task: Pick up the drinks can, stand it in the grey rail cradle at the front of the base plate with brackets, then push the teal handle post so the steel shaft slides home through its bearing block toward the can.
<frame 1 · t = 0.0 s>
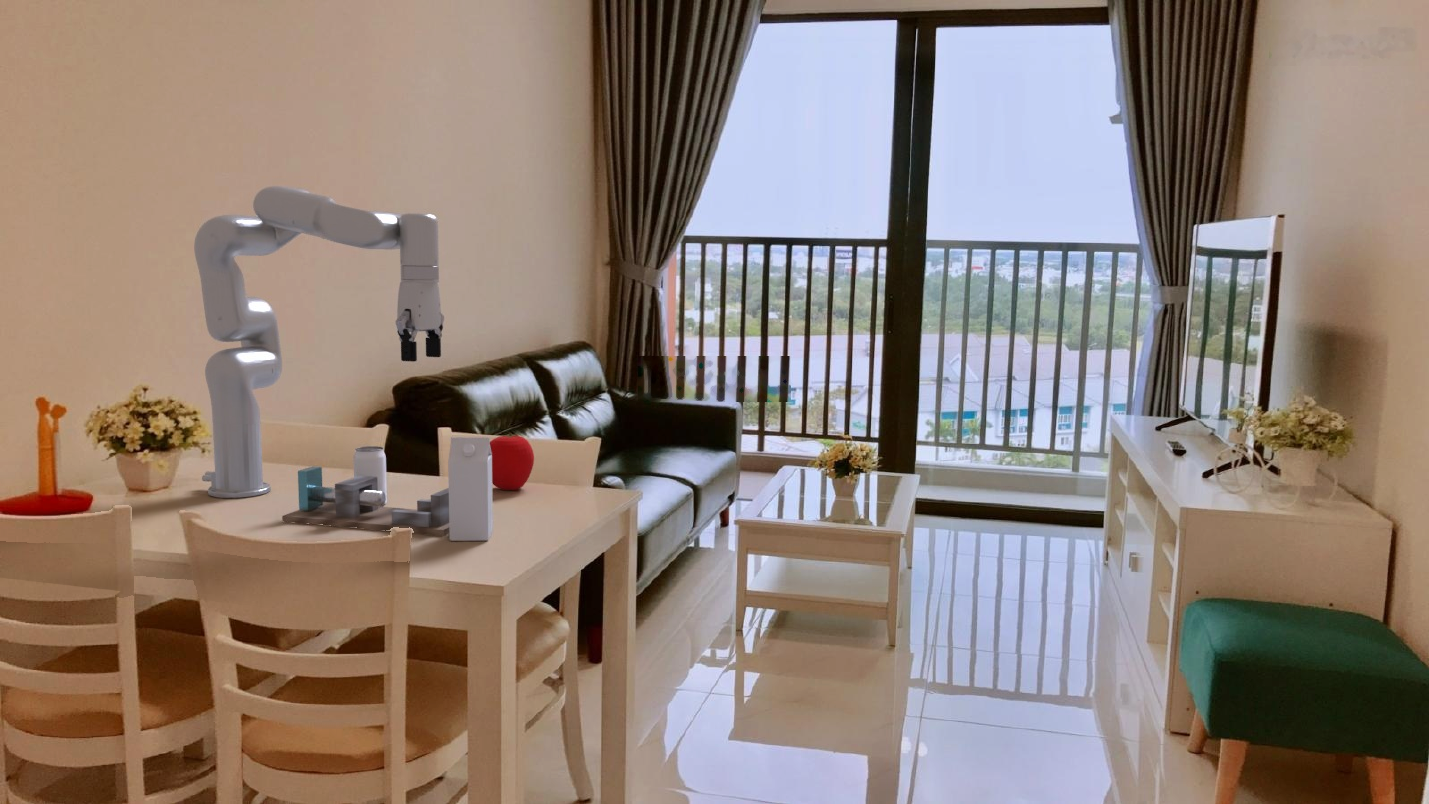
hand: (421, 358, 224), 31 cm above the table, tool pointing down, fingers open, 9 cm apart
tomato: (509, 490, 247), on the table
shaft: (343, 490, 218), point 6 cm above the table, slide at 0.0 cm
base plate with brackets: (379, 521, 216), on the table
milk carton: (471, 537, 206), on the table
can: (371, 505, 230), on the table
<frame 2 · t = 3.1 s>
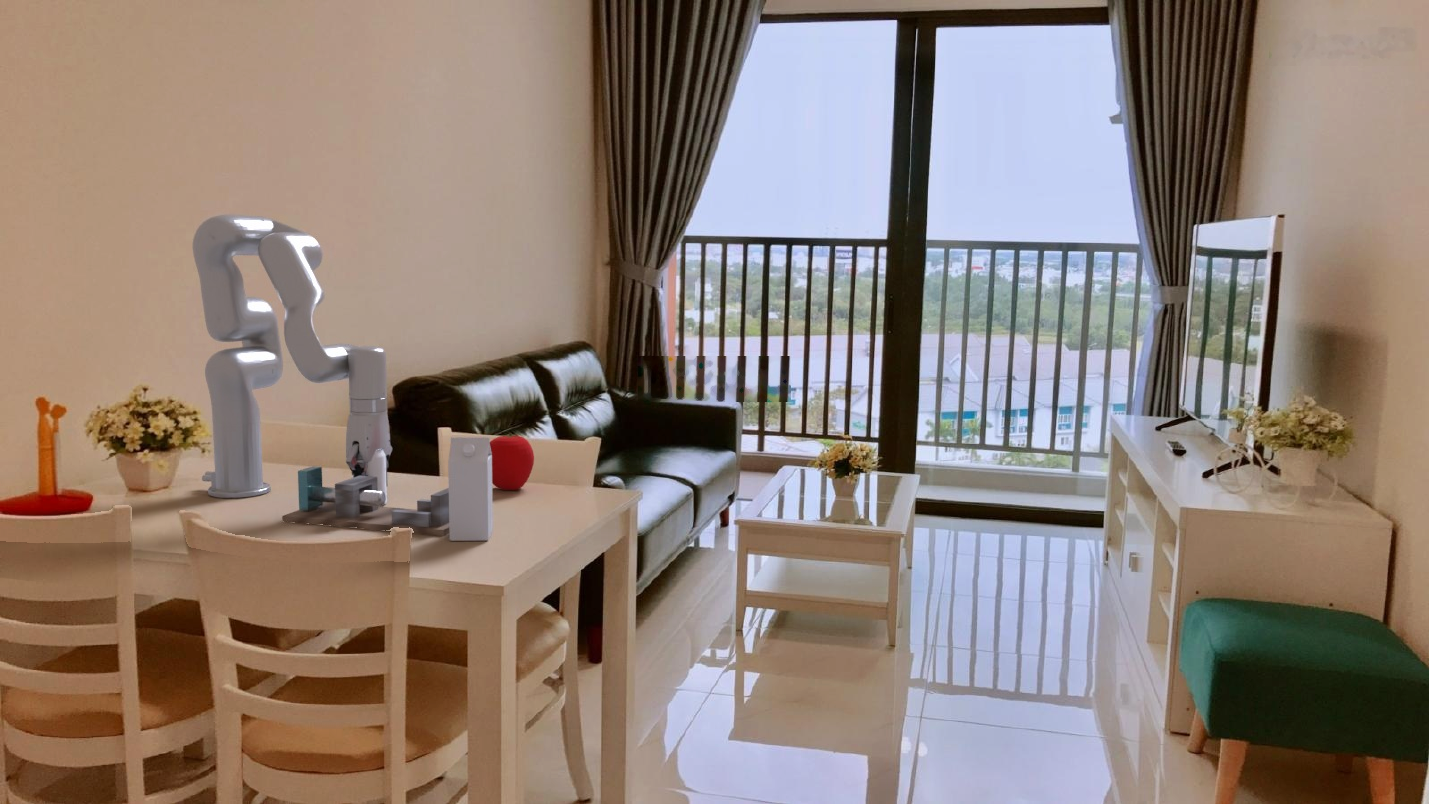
hand: (370, 489, 230), 3 cm above the table, tool pointing down, fingers closed on can, 6 cm apart
can: (371, 505, 230), on the table, touching gripper
everything else where it was.
when the fingers open (6 cm above the table, at t = 8.7 s): can drops 1 cm, resting on base plate with brackets.
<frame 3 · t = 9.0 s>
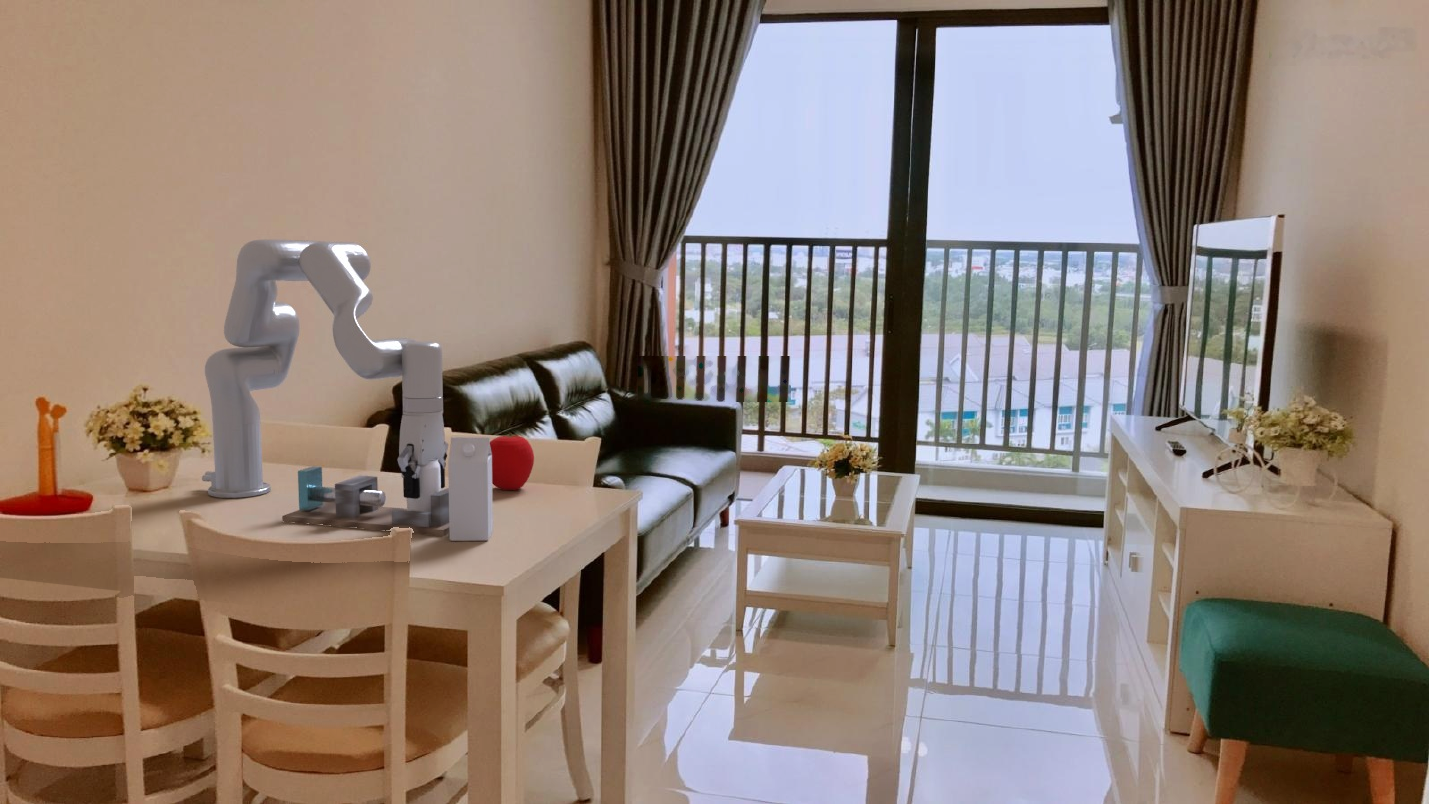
hand: (424, 492, 213), 6 cm above the table, tool pointing down, fingers open, 9 cm apart
can: (424, 519, 214), point 1 cm above the table, touching base plate with brackets
everything else where it was.
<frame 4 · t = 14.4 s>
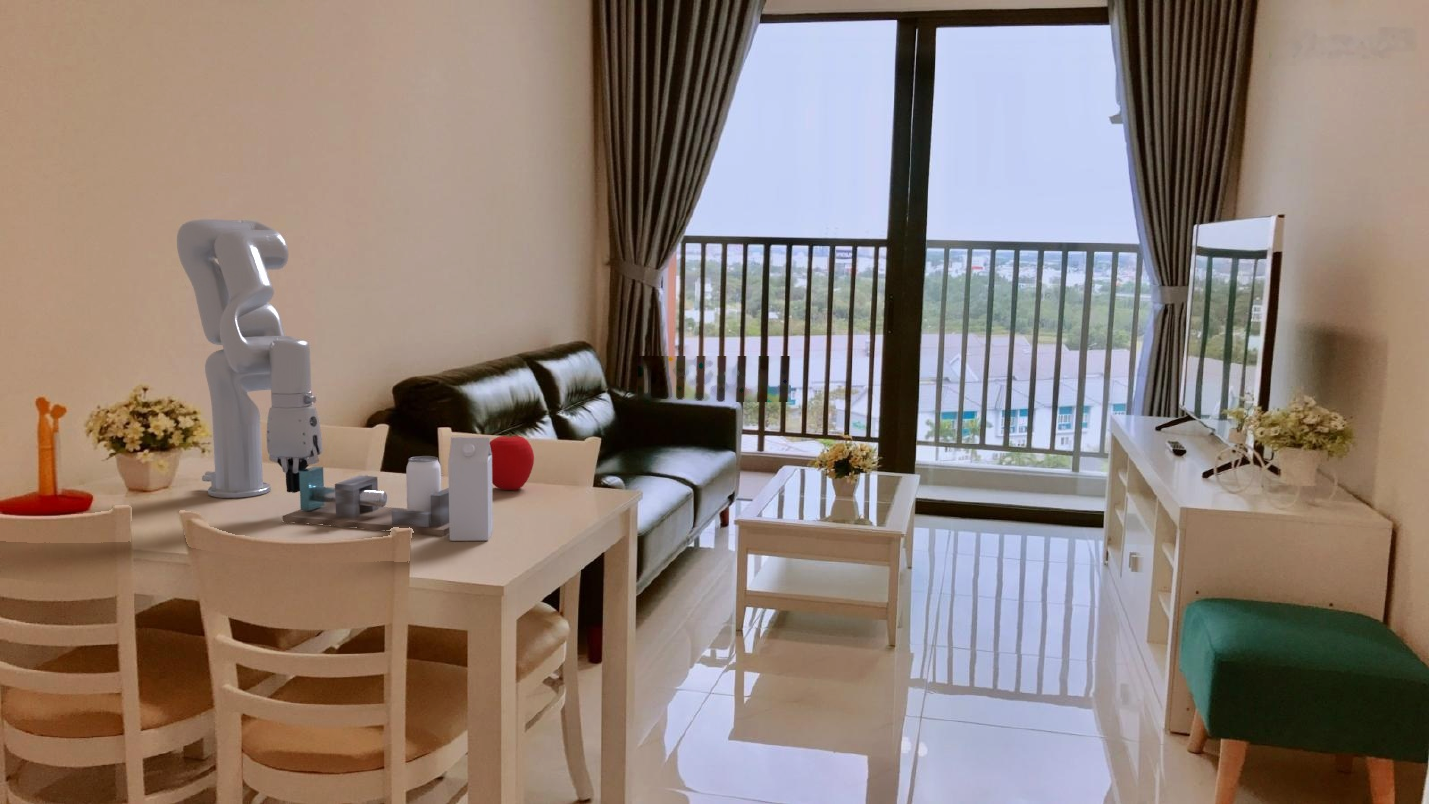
hand: (295, 491, 220), 5 cm above the table, tool pointing down, fingers closed
shaft: (344, 490, 218), point 6 cm above the table, slide at 0.3 cm, touching gripper
everything else where it was.
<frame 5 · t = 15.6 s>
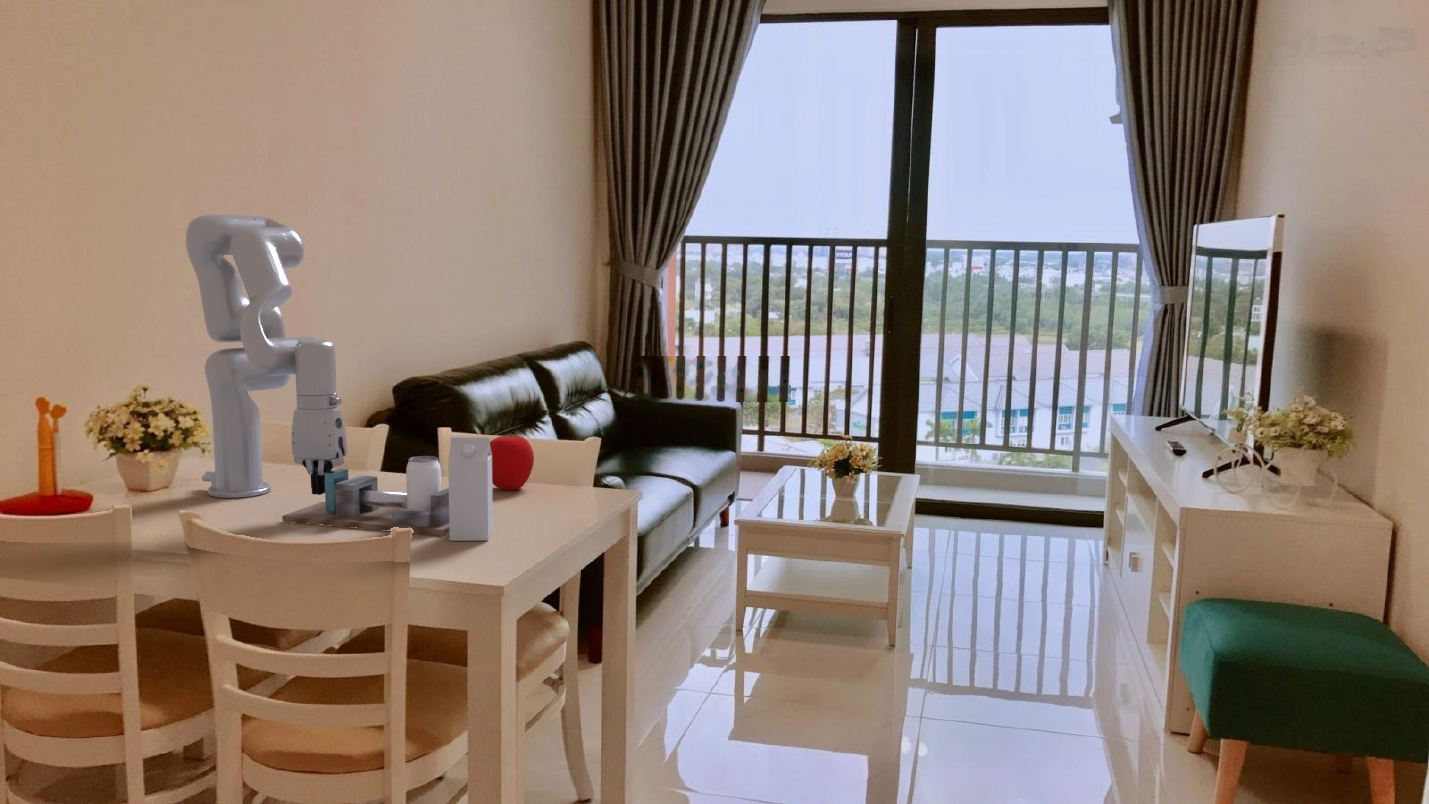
hand: (320, 493, 219), 5 cm above the table, tool pointing down, fingers closed
shaft: (370, 493, 216), point 6 cm above the table, slide at 6.1 cm, touching gripper
everything else where it was.
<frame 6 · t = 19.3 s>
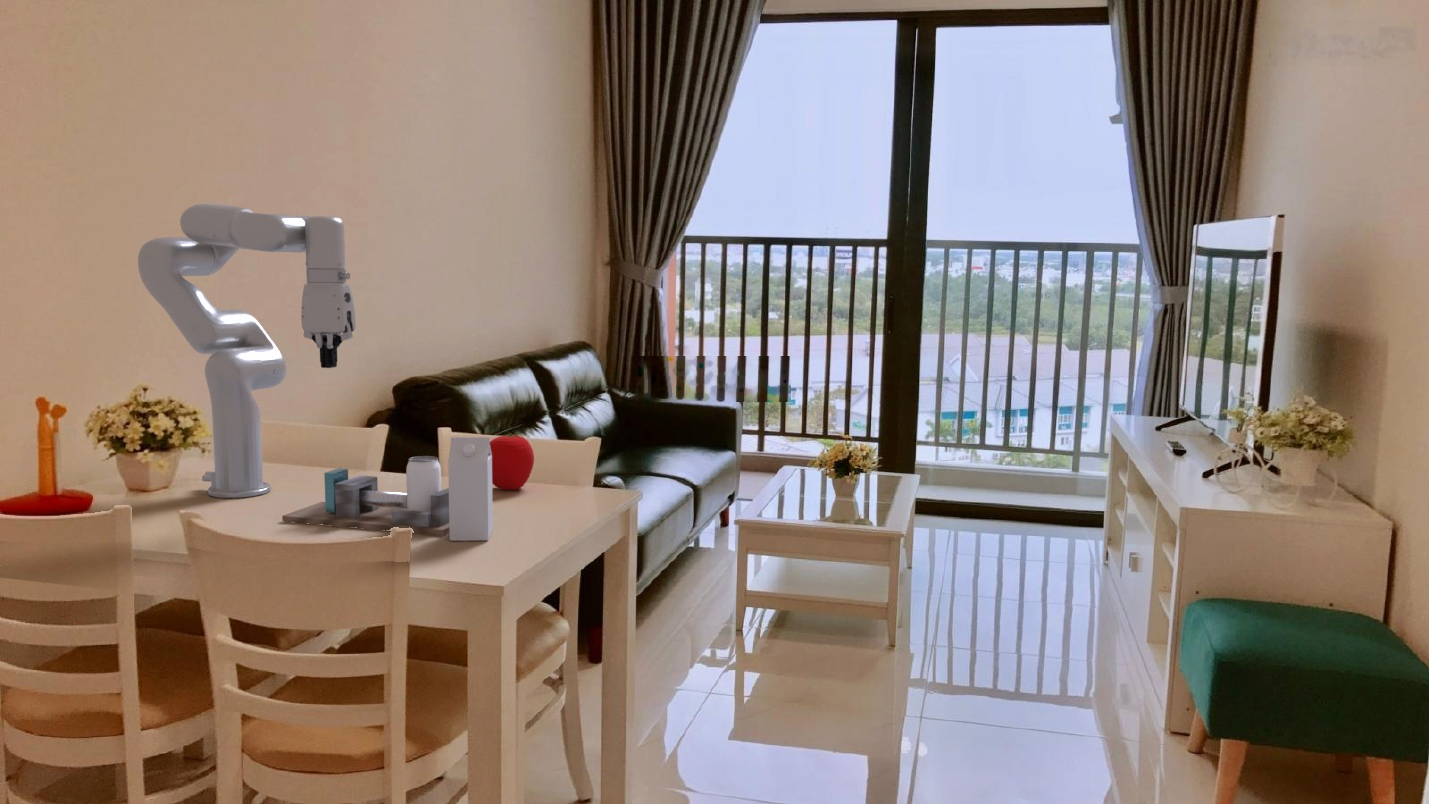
hand: (328, 367, 225), 29 cm above the table, tool pointing down, fingers closed
shaft: (370, 492, 216), point 6 cm above the table, slide at 6.0 cm
everything else where it was.
at the end: can 0.1 cm from the target spot, point 1.0 cm above the table; can tilted 0°; shaft slide at 6.0 cm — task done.
